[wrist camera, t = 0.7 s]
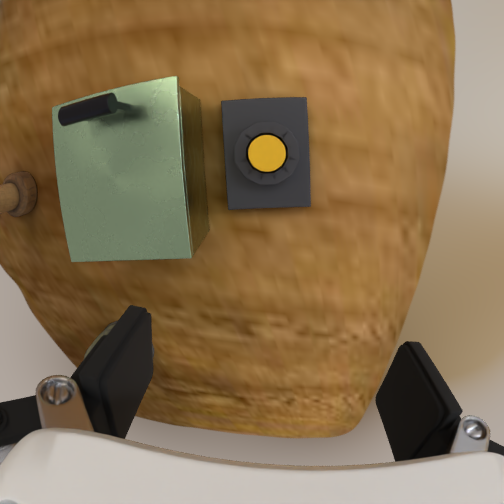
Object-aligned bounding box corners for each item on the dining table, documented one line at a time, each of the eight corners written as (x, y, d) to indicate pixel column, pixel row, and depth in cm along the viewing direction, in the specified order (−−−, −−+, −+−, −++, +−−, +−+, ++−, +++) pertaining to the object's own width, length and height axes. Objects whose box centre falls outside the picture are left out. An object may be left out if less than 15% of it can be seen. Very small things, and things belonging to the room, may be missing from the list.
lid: (56, 107, 24) (23, 105, 19) (179, 77, 23) (159, 63, 18) (75, 259, 30) (47, 279, 24) (193, 255, 29) (178, 279, 24)
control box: (224, 103, 32) (218, 98, 28) (304, 100, 32) (308, 94, 28) (230, 206, 36) (226, 213, 32) (308, 203, 36) (313, 209, 32)
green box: (97, 118, 33) (56, 114, 25) (200, 99, 32) (179, 85, 24) (110, 236, 38) (75, 259, 30) (209, 230, 37) (193, 255, 29)
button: (248, 136, 30) (247, 135, 28) (283, 135, 30) (284, 134, 28) (250, 171, 31) (249, 172, 29) (285, 169, 31) (286, 171, 29)
